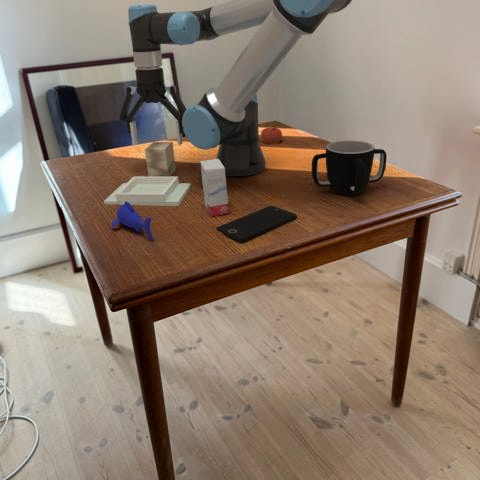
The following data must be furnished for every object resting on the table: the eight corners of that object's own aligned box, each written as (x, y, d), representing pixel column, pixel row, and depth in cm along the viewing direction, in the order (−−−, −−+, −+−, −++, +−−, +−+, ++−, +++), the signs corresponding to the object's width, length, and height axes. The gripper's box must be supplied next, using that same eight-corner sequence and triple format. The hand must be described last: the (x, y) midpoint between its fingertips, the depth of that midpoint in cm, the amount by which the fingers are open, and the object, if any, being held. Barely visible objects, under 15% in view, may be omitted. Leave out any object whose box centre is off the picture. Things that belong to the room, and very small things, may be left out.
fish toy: (106, 227, 113) (101, 200, 110) (134, 218, 118) (130, 192, 115) (139, 247, 103) (134, 218, 100) (168, 236, 107) (165, 208, 104)
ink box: (229, 214, 116) (226, 167, 111) (209, 217, 115) (205, 170, 110) (222, 202, 124) (219, 157, 119) (203, 204, 123) (199, 160, 118)
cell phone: (215, 231, 109) (215, 227, 108) (271, 208, 119) (271, 205, 119) (241, 243, 103) (240, 239, 102) (297, 218, 113) (297, 214, 113)
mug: (340, 176, 137) (342, 135, 132) (390, 188, 127) (395, 143, 121) (304, 192, 127) (305, 148, 122) (356, 206, 117) (359, 159, 111)
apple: (261, 144, 172) (261, 122, 169) (282, 144, 171) (282, 122, 168) (260, 150, 166) (259, 127, 162) (281, 150, 165) (281, 127, 161)
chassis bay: (191, 188, 134) (190, 176, 133) (178, 207, 122) (177, 194, 120) (123, 188, 137) (122, 176, 136) (104, 206, 125) (102, 194, 123)
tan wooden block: (176, 173, 147) (172, 141, 143) (169, 182, 140) (164, 149, 136) (157, 173, 148) (153, 142, 144) (149, 182, 141) (144, 149, 136)
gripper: (196, 65, 132) (202, 140, 141) (110, 66, 135) (121, 140, 145) (190, 68, 125) (196, 147, 134) (100, 70, 129) (112, 147, 138)
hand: (157, 144), depth 140 cm, fingers open, 13 cm apart
